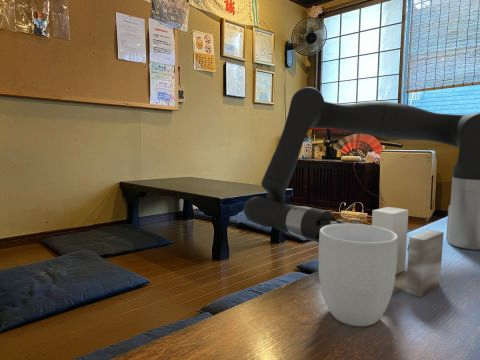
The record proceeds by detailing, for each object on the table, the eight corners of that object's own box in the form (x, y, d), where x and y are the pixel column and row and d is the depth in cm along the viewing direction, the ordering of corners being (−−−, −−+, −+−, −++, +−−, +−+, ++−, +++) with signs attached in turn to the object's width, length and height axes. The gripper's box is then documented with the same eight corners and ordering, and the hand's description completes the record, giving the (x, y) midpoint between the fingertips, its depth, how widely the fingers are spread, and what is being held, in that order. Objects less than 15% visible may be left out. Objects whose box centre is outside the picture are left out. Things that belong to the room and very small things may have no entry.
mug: (362, 288, 62) (366, 217, 60) (423, 314, 53) (429, 231, 51) (301, 310, 54) (303, 228, 52) (360, 345, 45) (365, 247, 43)
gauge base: (341, 275, 67) (343, 226, 66) (369, 264, 74) (371, 218, 73) (414, 301, 57) (417, 242, 56) (439, 285, 63) (443, 232, 62)
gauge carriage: (359, 275, 64) (362, 212, 63) (385, 264, 70) (388, 206, 69) (379, 282, 61) (383, 216, 60) (404, 270, 67) (408, 209, 66)
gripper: (291, 211, 76) (361, 226, 63) (327, 204, 85) (396, 216, 71) (290, 244, 77) (359, 266, 64) (326, 234, 86) (394, 251, 72)
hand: (379, 240), depth 68 cm, fingers closed
